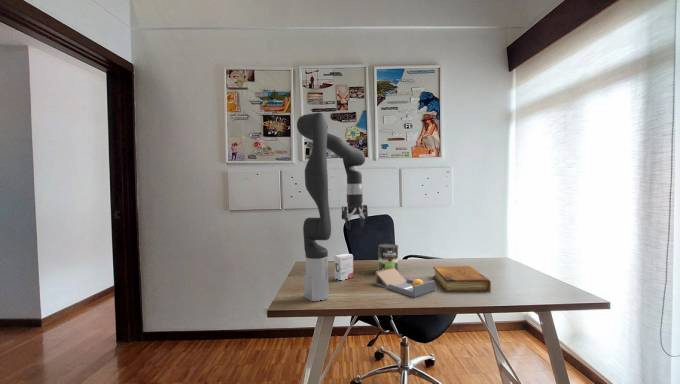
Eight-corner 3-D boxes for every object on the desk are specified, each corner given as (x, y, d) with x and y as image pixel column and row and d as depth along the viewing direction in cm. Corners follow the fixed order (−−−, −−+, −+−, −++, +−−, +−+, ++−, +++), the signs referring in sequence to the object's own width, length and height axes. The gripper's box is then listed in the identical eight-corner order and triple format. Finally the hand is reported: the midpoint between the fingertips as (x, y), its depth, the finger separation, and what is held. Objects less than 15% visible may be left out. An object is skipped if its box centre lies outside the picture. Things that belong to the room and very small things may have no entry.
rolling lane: (415, 298, 134) (414, 283, 134) (374, 285, 153) (374, 271, 153) (434, 291, 142) (434, 277, 142) (394, 279, 161) (394, 266, 161)
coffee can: (400, 274, 168) (399, 247, 168) (380, 275, 168) (379, 247, 168) (396, 269, 179) (395, 243, 178) (377, 269, 178) (376, 243, 178)
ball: (407, 283, 142) (415, 278, 139) (415, 280, 146) (422, 276, 142) (413, 293, 140) (420, 289, 137) (420, 291, 143) (428, 287, 140)
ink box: (347, 275, 168) (347, 252, 167) (354, 278, 164) (353, 254, 163) (334, 279, 162) (333, 255, 162) (340, 281, 158) (340, 257, 158)
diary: (490, 293, 140) (490, 279, 140) (446, 293, 141) (446, 279, 141) (471, 277, 163) (471, 265, 163) (433, 277, 164) (433, 265, 164)
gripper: (360, 192, 163) (361, 225, 164) (337, 193, 155) (338, 228, 155) (371, 193, 157) (371, 226, 158) (347, 194, 149) (348, 229, 149)
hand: (355, 227), depth 156 cm, fingers open, 8 cm apart
